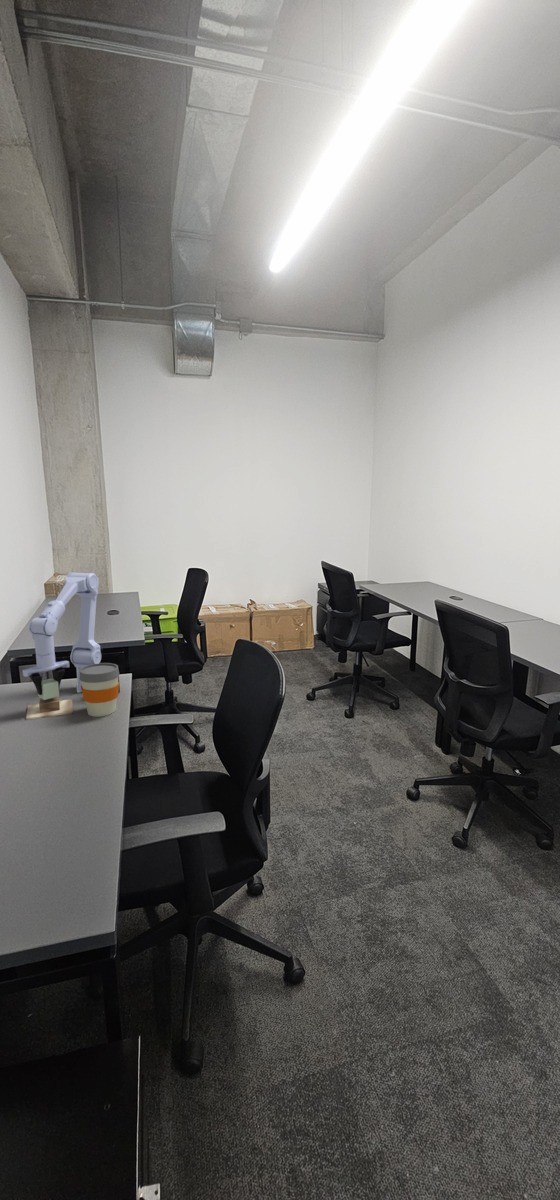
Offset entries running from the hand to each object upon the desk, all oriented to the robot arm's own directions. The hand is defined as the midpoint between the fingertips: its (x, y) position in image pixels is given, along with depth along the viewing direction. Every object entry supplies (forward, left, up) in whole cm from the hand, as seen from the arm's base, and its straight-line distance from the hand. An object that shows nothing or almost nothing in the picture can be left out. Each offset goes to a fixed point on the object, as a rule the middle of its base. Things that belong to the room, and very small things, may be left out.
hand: (48, 692), depth 169 cm
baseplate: (0, 0, -6) cm, 6 cm away
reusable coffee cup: (-16, +8, -7) cm, 19 cm away
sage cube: (0, 0, -2) cm, 2 cm away
